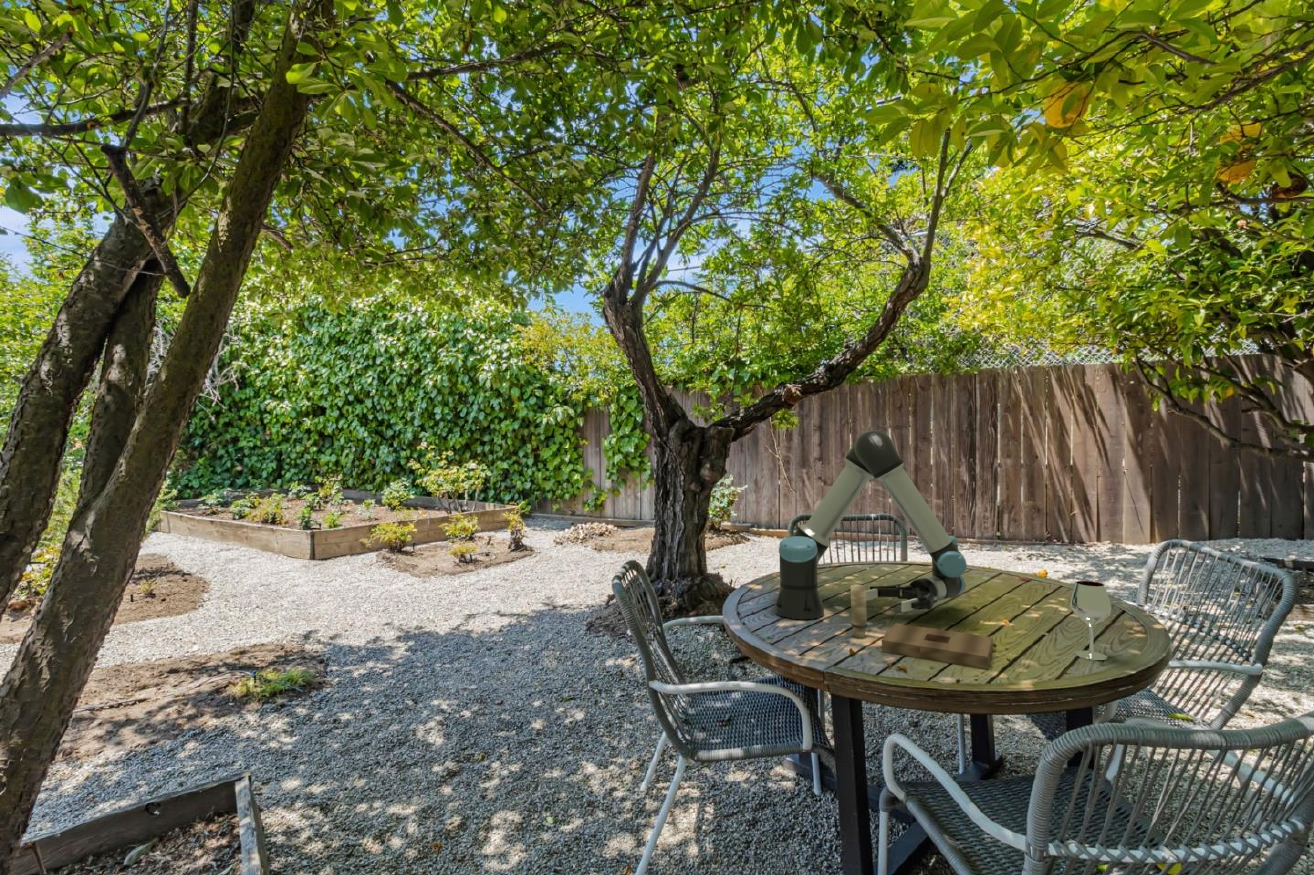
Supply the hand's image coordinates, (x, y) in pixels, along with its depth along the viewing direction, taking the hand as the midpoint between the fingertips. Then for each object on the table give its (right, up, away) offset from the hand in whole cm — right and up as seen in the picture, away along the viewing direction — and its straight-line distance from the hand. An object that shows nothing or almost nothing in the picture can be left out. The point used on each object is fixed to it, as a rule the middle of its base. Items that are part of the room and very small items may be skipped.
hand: (881, 601), depth 170 cm
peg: (-8, -8, -5) cm, 13 cm away
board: (+8, -8, -17) cm, 20 cm away
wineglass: (+43, -7, -23) cm, 50 cm away
